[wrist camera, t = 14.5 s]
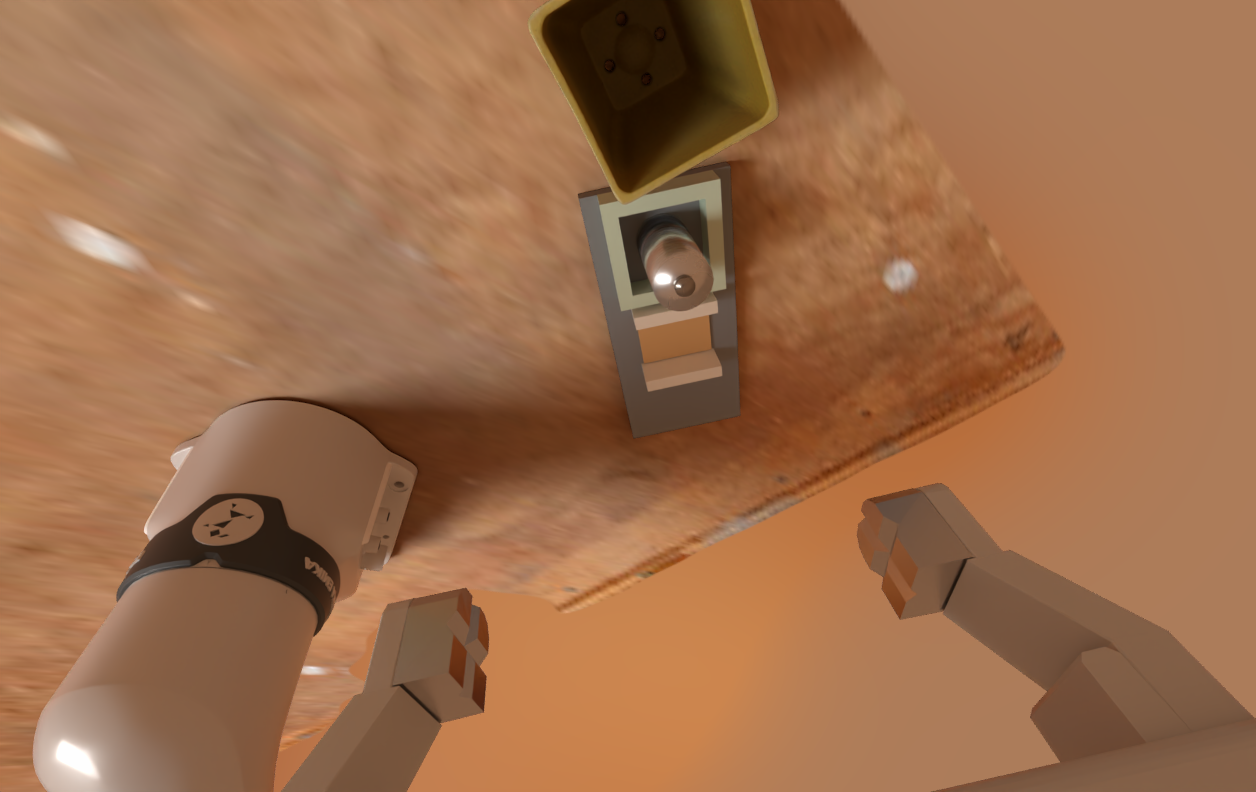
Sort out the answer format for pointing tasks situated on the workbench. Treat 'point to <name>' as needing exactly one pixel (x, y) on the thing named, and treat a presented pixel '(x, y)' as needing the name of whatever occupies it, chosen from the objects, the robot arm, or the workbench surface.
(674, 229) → the cell
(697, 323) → the cradle
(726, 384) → the board
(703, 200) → the pale green flat frame
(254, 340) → the workbench surface
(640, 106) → the flower pot
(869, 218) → the workbench surface
